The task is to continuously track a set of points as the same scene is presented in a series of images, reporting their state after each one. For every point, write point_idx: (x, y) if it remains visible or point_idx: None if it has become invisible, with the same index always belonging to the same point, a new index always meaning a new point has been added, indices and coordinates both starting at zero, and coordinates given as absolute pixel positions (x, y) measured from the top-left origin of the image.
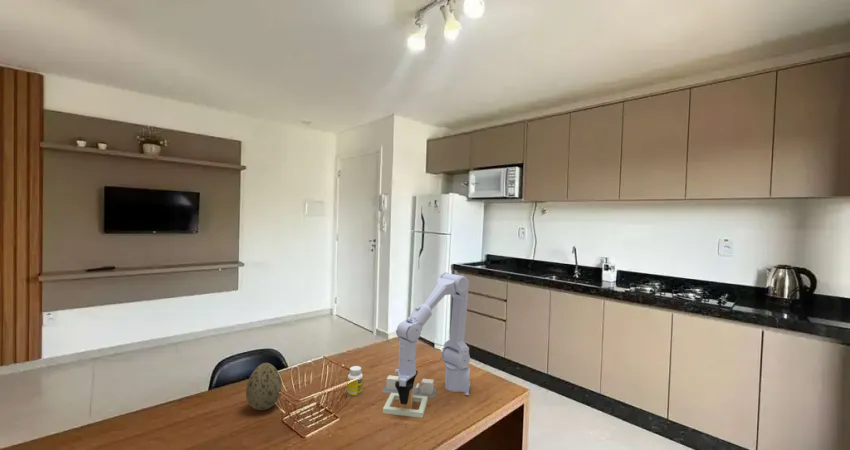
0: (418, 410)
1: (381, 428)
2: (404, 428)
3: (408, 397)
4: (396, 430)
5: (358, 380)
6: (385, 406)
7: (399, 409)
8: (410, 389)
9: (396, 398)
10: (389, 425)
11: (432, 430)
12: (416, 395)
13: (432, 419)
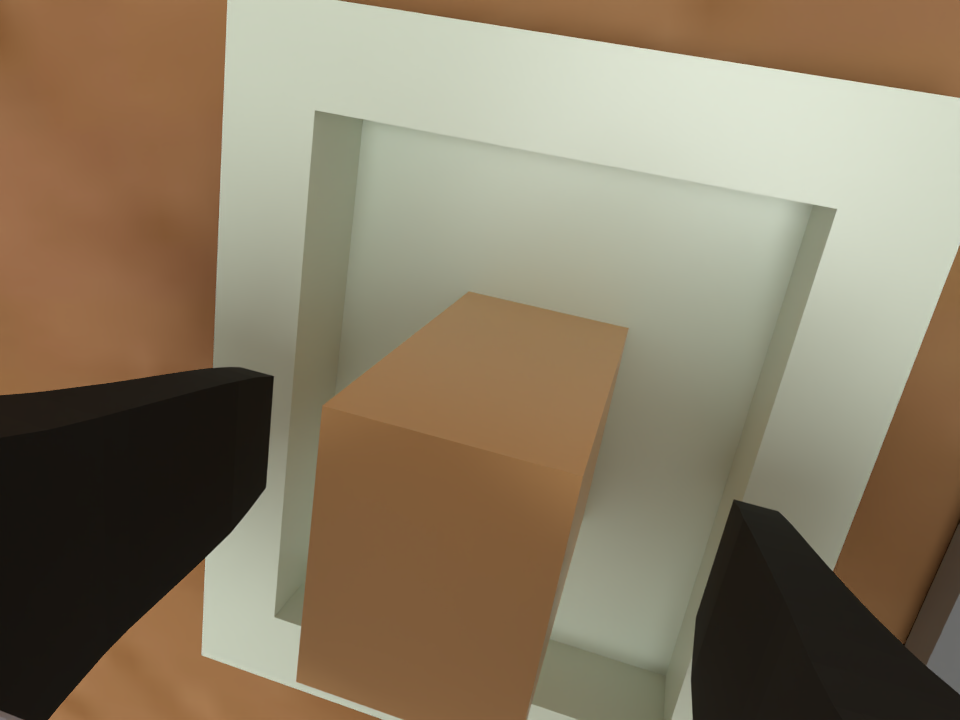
0: (258, 613)
1: (9, 33)
2: (76, 356)
3: (156, 581)
4: (17, 253)
5: None
6: (308, 30)
7: (240, 321)
8: (472, 696)
9: (812, 248)
10: (95, 149)
11: (106, 652)
12: None
13: (310, 702)
